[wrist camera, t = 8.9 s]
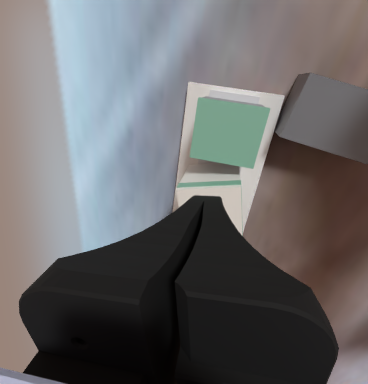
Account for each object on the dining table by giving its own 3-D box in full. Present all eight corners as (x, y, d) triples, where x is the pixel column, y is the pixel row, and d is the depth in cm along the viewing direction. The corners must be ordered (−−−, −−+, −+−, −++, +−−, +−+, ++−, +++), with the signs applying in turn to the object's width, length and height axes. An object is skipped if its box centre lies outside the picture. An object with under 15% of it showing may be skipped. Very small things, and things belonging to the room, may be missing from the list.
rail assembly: (282, 95, 16) (302, 98, 12) (235, 250, 23) (236, 290, 19) (190, 82, 17) (174, 80, 13) (171, 235, 24) (156, 270, 19)
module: (240, 206, 19) (243, 242, 15) (194, 207, 20) (183, 241, 16) (239, 161, 17) (241, 186, 13) (189, 164, 18) (175, 189, 14)
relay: (380, 99, 16) (410, 102, 13) (346, 152, 17) (366, 164, 15) (297, 74, 16) (310, 72, 13) (272, 129, 18) (279, 137, 15)
